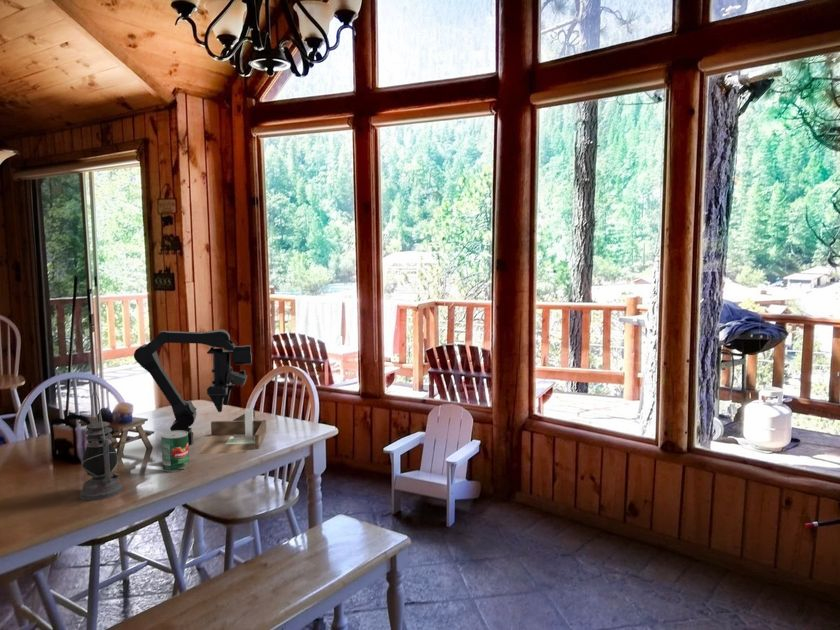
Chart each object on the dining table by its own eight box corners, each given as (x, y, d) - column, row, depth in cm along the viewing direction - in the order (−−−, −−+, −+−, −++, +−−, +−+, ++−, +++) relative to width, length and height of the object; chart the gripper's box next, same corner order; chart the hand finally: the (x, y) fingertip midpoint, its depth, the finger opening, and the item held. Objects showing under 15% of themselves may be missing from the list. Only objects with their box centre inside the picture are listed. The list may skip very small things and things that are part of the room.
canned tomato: (169, 462, 186) (168, 429, 184) (193, 463, 186) (192, 430, 184) (157, 471, 178) (156, 437, 177) (182, 472, 178) (181, 438, 176)
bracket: (253, 437, 208) (253, 408, 207) (252, 441, 203) (252, 411, 202) (234, 438, 207) (233, 409, 205) (232, 442, 202) (232, 412, 201)
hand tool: (236, 431, 219) (236, 420, 219) (226, 430, 220) (226, 419, 220) (260, 418, 238) (260, 407, 237) (251, 417, 238) (251, 406, 238)
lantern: (129, 493, 162) (125, 389, 159) (88, 504, 154) (83, 396, 151) (113, 481, 170) (108, 382, 167) (73, 491, 162) (67, 389, 159)
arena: (196, 456, 191) (196, 439, 190) (212, 436, 212) (211, 421, 211) (257, 455, 193) (256, 438, 193) (266, 435, 214) (266, 420, 213)
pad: (225, 444, 201) (225, 443, 201) (230, 437, 209) (230, 436, 209) (254, 443, 202) (254, 443, 202) (258, 436, 210) (258, 436, 210)
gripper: (239, 370, 193) (241, 415, 195) (249, 360, 212) (250, 401, 213) (205, 370, 192) (207, 415, 194) (219, 360, 210) (220, 401, 212)
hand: (223, 408), depth 203 cm, fingers open, 9 cm apart
